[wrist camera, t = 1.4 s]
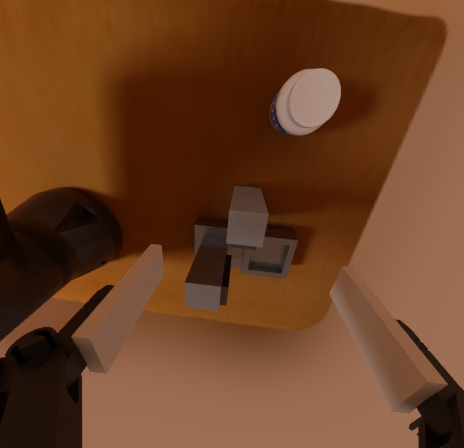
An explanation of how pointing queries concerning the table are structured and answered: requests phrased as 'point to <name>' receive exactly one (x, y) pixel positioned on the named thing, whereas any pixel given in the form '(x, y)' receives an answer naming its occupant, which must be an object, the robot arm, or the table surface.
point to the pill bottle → (305, 101)
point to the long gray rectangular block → (247, 218)
